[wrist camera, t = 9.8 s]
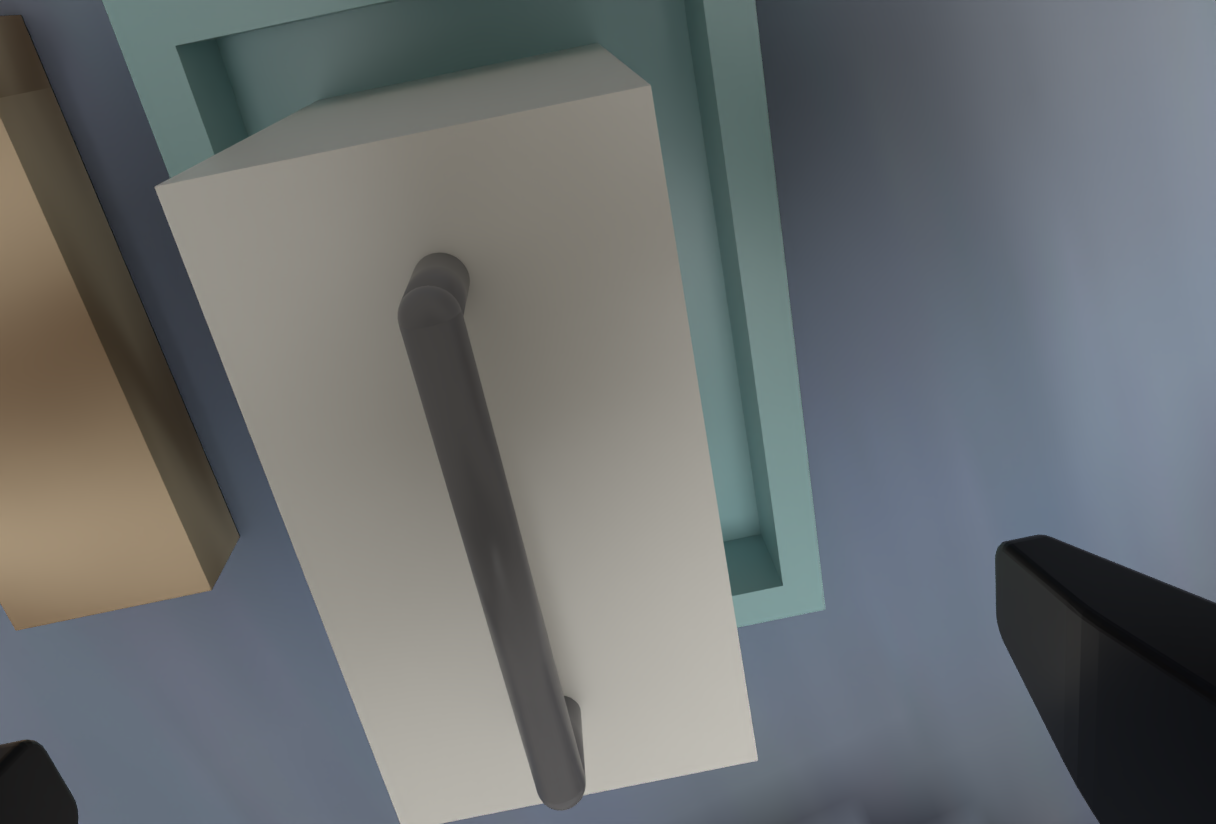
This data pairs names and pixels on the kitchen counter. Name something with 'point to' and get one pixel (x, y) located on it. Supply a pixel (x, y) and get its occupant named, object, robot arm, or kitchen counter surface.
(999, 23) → the kitchen counter surface
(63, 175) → the bay
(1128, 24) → the kitchen counter surface
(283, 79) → the tray
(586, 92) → the white handled drawer
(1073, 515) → the kitchen counter surface
